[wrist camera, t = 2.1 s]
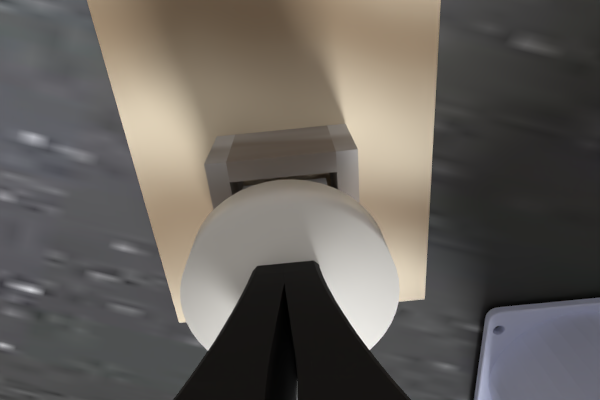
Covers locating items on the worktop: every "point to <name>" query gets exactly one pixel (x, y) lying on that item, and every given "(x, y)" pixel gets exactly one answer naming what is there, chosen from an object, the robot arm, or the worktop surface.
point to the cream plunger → (290, 254)
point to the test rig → (277, 109)
